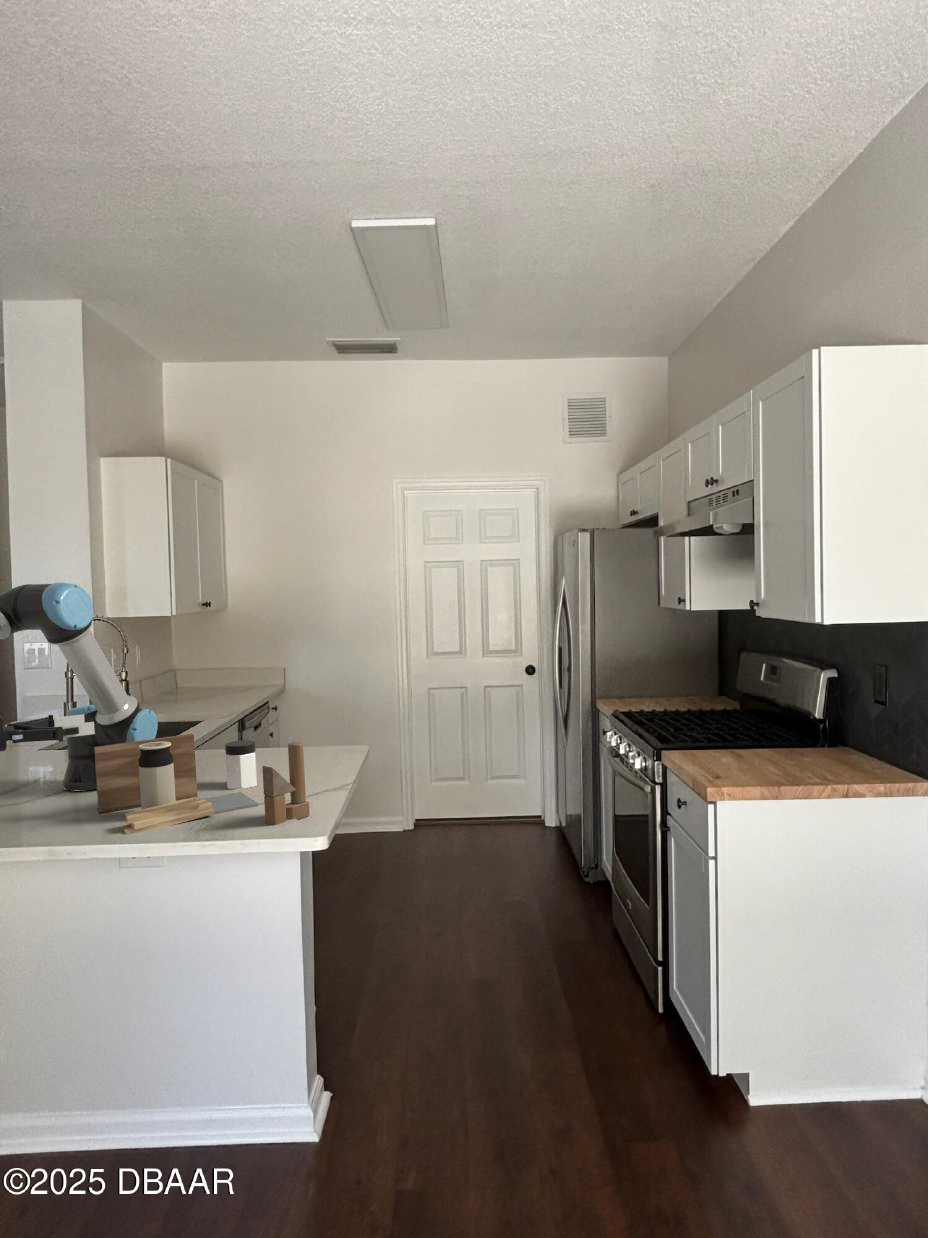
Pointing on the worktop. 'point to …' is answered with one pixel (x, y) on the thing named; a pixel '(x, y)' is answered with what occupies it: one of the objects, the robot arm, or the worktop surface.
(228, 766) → the jar
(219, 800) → the mat
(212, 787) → the worktop surface
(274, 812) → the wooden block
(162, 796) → the travel mug
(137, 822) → the offcut stack
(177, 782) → the wooden board
